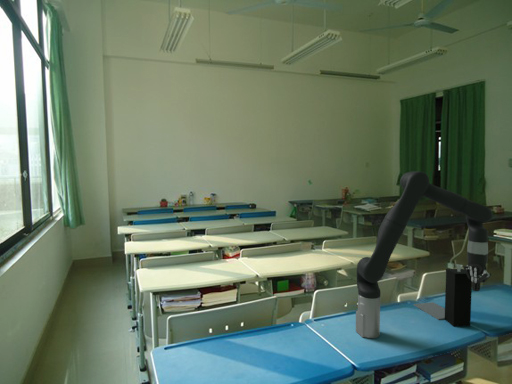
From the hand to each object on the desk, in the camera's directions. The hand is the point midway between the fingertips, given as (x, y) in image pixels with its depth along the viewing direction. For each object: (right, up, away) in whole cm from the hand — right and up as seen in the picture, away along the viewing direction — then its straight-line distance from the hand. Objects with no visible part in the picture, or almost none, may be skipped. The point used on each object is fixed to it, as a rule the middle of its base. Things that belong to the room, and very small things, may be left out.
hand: (475, 290), depth 150 cm
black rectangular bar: (-2, -19, +11) cm, 22 cm away
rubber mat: (-5, -18, +24) cm, 30 cm away
